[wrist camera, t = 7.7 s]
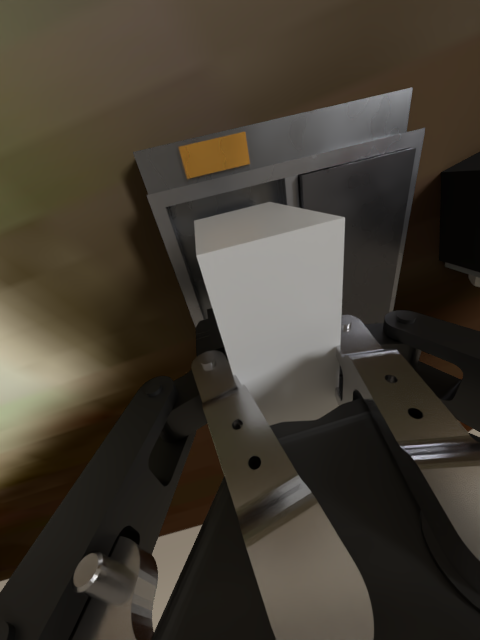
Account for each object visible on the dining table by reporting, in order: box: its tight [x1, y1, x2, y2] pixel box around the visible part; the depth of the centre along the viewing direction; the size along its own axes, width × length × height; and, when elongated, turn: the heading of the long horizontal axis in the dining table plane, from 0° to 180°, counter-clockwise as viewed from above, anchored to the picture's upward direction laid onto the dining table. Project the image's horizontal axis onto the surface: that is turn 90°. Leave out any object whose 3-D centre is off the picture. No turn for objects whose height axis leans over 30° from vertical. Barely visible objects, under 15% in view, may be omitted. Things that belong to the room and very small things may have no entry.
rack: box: [133, 88, 425, 327], centre depth 14 cm, size 16×13×3 cm
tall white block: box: [194, 202, 345, 426], centre depth 10 cm, size 10×4×6 cm, turn 12°
